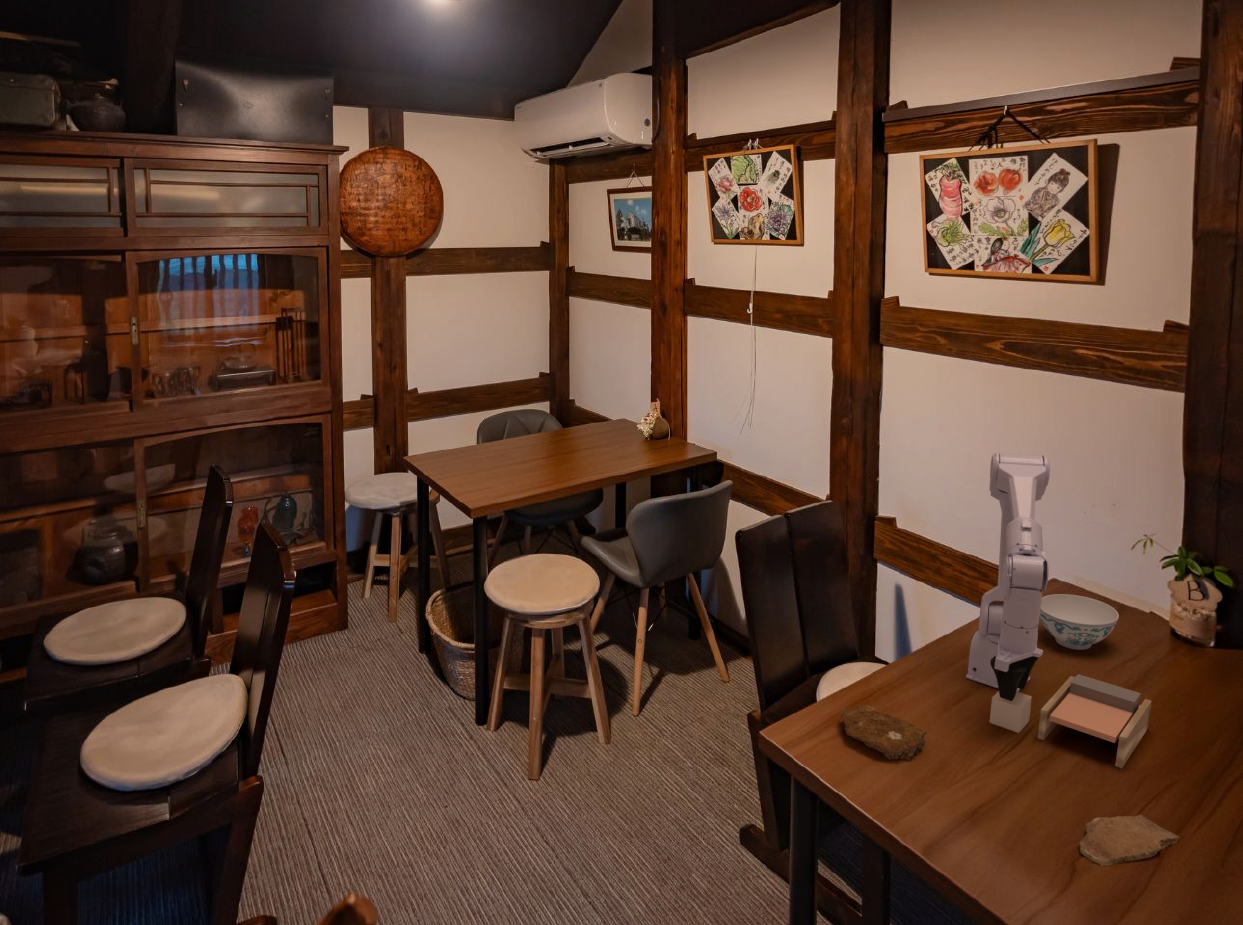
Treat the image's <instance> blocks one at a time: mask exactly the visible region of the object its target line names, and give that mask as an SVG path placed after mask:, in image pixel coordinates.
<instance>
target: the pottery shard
mask: <svg viewBox="0 0 1243 925" xmlns="http://www.w3.org/2000/svg"><path fill="white" fill-rule="evenodd" d="M1084 830H1085V835H1084V837H1083V838H1081V840H1080V841H1079V842H1078V846H1079V853H1080V854H1081V855H1083V857H1085V858H1087V859H1088V860H1090V861H1091V862H1093V863H1094V864H1095V863H1096V864H1098V865H1100V866H1101V867H1102V866H1103V867H1109V866H1111V865H1115V864H1122V863H1125V862H1129V861H1139V860H1144V859H1147V858H1152V857H1154V856H1155V855H1157V853H1158V852H1160V851H1161V850H1164V849H1165V848H1166V847H1168V846H1172V845H1175V844H1177V843H1178V841H1180V836H1179V835H1177V834H1176V833H1173V832H1171V831H1169V830H1167V829H1165V828H1163V827H1161V826H1160V825H1158V824H1156V823H1155V822H1153V821H1151V820H1150V819H1148V818H1147V817H1146V816H1144V815H1143V814H1137V815H1135V816H1133V815H1124V816H1120V815H1117V816H1111V817H1105V816H1104V817H1103V816H1102V817H1095V818H1093V819H1092V820H1091V821H1089V822H1085V828H1084Z"/></svg>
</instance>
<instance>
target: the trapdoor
mask: <svg viewBox="0 0 1243 925" xmlns="http://www.w3.org/2000/svg"><path fill="white" fill-rule="evenodd" d="M1074 677H1075V678H1074V679H1073V681H1072V682H1071V685H1070V692H1069V694H1068V695H1067V696H1066V697H1065V698H1064V700H1063V701H1062V702H1061V703H1060V704H1059V705H1058V707H1057V708H1056V709H1055V710H1054V711H1053V712H1052V714H1051V715H1050V720H1049V721H1052V722H1055V723H1058V724H1057V725H1061V726H1064V727H1066V728H1070V729H1073V730H1076V731H1079V732H1082V733H1085V734H1087V735H1090V736H1094V737H1095V738H1098V739H1101V740H1105V741H1108V742H1110V743H1114V744H1115V743H1116V742H1117V741H1118V740H1119V736H1120V735H1121V733H1122V732H1123V730H1124V729H1125V727H1126V726H1127V724H1128V723H1129V722H1130V720H1131V719H1132V717H1133V716H1134V714H1135V713H1136V711H1137V710H1138V709H1139V705H1140V702H1141V694H1142V693H1140V692H1138V691H1134V690H1132V689H1130V688H1129V689H1128V688H1126V687H1125V688H1124V687H1121V686H1119V685H1115V684H1112V683H1109V682H1105V681H1102V680H1099V679H1095V678H1091V677H1089V676H1086V675H1085V676H1084V675H1082V674H1077V675H1076V676H1074Z"/></svg>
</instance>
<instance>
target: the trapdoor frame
mask: <svg viewBox="0 0 1243 925" xmlns="http://www.w3.org/2000/svg"><path fill="white" fill-rule="evenodd" d="M1075 677H1076V676H1072V675H1070V676H1069V677H1068V679H1066V681H1065V682H1064V683H1063V684H1062V685H1061V686H1060V687H1059V688H1058V690H1057V691H1056V692H1055V693H1054V694H1053V696H1052V697H1050V699H1049V700H1048V701H1047V702H1046V703H1045V704H1044V705H1043V707H1041V709H1040V715H1039V724H1038V731H1037V732H1038V733H1037V739H1038V740H1041V741H1045V740H1046V738H1047V737H1048V736H1049V735H1050V734H1051V732H1052V731H1053V730H1054V729H1055V728H1056V726H1057V725H1059V724H1058V723H1055V722H1052V721H1049V720H1050V715H1051V714H1052V712H1053V711H1054V710H1055V709H1056V708H1057V707H1058V705H1059V704H1060V703H1061V702H1062V701H1063V700H1064V698H1065V697H1066V696H1067V695H1068V694H1069V692H1070V685H1071V682H1072V681H1073V679H1074V678H1075ZM1151 708H1152V700H1150V699H1148V698H1144V700H1143V702H1142V703H1141V704H1139V709H1138V710H1137V711H1136V713H1135V714H1134V716H1133V717H1132V719H1131V720H1130V722H1129V723H1128V724H1127V726H1126V727H1125V729H1124V730H1123V732H1122V733H1121V735H1120V736H1119V738H1118V746H1117V750H1116V751H1117V752H1116V758H1115V764H1114V767H1117V768H1120V769H1123V768H1124V766H1125V765H1126V763H1127V761H1128V760H1129V759H1130V758H1131V755H1132V753H1133V752H1134V751H1135V749H1136V748H1137V746H1138V745H1139V743H1140V741H1141V740H1142V738H1143V736H1144V735H1145V734H1146V732H1147V731H1148V728H1149V720H1150V715H1151V710H1152V709H1151Z"/></svg>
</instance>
